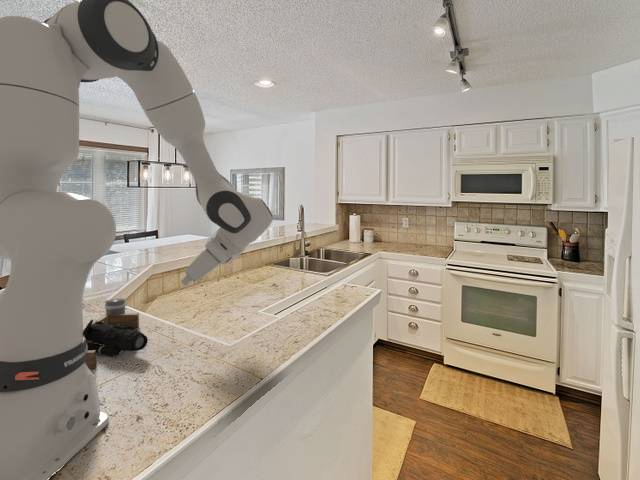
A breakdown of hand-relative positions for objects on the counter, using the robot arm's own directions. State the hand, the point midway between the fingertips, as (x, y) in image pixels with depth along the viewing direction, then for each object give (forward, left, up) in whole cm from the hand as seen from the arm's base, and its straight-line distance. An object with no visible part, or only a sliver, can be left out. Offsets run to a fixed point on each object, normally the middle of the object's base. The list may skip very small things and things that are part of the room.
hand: (184, 282), depth 87 cm
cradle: (0, +21, -17) cm, 27 cm away
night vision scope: (-4, +16, -17) cm, 23 cm away
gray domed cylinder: (+17, +24, -17) cm, 34 cm away
